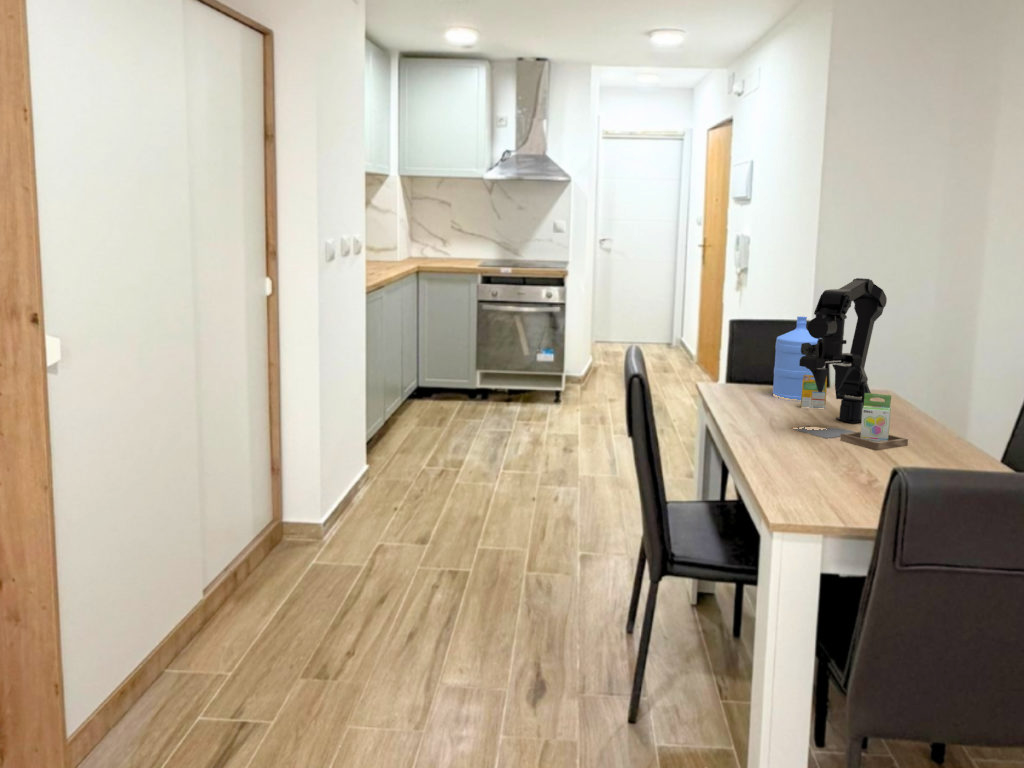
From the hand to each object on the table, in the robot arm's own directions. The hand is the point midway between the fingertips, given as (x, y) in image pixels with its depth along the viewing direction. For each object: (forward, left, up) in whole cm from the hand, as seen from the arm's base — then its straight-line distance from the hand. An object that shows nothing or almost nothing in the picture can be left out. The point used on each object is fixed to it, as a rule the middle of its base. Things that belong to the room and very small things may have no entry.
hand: (828, 391), depth 267 cm
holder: (-1, +16, -12) cm, 20 cm away
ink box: (-1, +16, -12) cm, 20 cm away
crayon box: (-21, -25, -12) cm, 35 cm away
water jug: (-30, -41, -12) cm, 52 cm away
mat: (0, 0, -12) cm, 12 cm away
